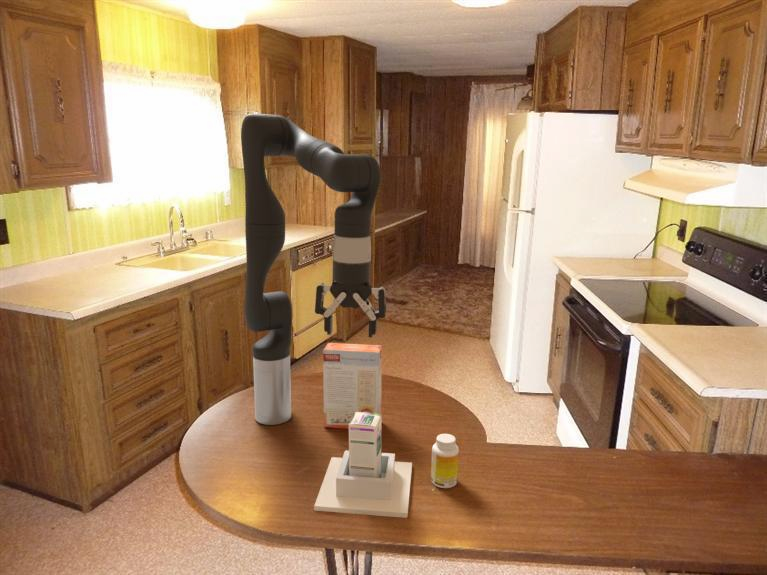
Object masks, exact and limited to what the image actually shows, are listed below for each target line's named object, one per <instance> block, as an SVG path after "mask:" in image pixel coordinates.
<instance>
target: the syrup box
mask: <svg viewBox="0 0 767 575" xmlns="http://www.w3.org/2000/svg"><path fill="white" fill-rule="evenodd" d="M382 419H383V418H382V413H381V414H376V413H368V412H355V415H354V416H353V418H352V419H351V421H350V423H349V429H348V450H349V476H358V477H372V478H381V462H382V453H383V452H382V442H383V441H382V438H383V437H382V427H383V426H382V424H383V423H382Z"/></svg>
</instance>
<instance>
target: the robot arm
mask: <svg viewBox="0 0 767 575" xmlns="http://www.w3.org/2000/svg"><path fill="white" fill-rule="evenodd" d="M241 123H242V124H241V128H240V141H241V154H242V155H241V156H242V162H243V163H242V166H243V173H244V175H243V176H244V187H245V188H244V190H245V191H244V192H245V193H244V194H245V197H244V198H245V214H244V215H245V218H244V220H245V222H244V225H245V226H244V227H245V229H244V230H245V231H244V233H245V251H246V252H245V255H246V259H245V260H246V271H245V272H246V275H245V287H244V288H245V291H244V305H243V306H244V320H245V324H246V326H247V328H248V330H249V331H251V332H252V333H258V332H261V333H262V332H266V331H269V332H268V333H267V334H266V335H265V336H263V337H262V338H261V339H258V340H257V341H255V343H254V344H253V345H252V367H253V369H252V370H253V371H252V372H253V390H254V391H253V392H254V393H253V395H254V418H255V421H256V422H257V423H259V424H262V425H267V426H274V425H280V424H283V423H287V422H288V421H289V420H290V419H291V418H292V395H291V394H292V393H291V389H292V386H291V382H292V381H291V345H292V326H293V310H292V309H293V308H292V307H293V306H292V302H291V299H290V297H289V295H288V294H287V293H286V292H284V291H281V290H280V291H271V292H264V288H265V284H266V280H267V277H268V274H269V272H270V270H271V268H272V266H273V265H274V263H275V261H276V260H277V258H278V256H280V253H281V252H282V250H283V247H284V245H285V241H286V214H285V211H284V208H283V206H282V204H281V203H280V200H279V199H278V198H277V196H276V194H275V192H274V191H273V189H272V187H271V185H270V183H269V180H268V178H267V174H266V166H265V157H281V156H288V157H292V158H293V157H294V158H295V159H296V162H297V164H298V165H299V166H300V167H301V168H302V169H304V170H305V171H306V172H308V173H310V174H312V175H314V176H316V177H318V178H320V179H321V180H322V182H323V183H324V184H326V186H327V187H328V188H329V189H331V190H333V191H335V192H339V193H352V194H351V197H350V199H349V201H347V202H346V203H343V204H340V205H338V206H337V207H336V209H335V212H334V236H333V245H332V253H331V254H332V255H331V256H332V282H331V285H330V284H325V283H323V282H320V283H319V284H318V285H317V286H316V289H315V292H316V293H315V302H314V304H315V305H314V313H315V314H317V315H321V316H323V318H324V319H323V320H324V324H323V328H324V329H323V330H324V332H325V333H326V335H329V336H331V335H332V334H333V320H334V319H333V312H335V310H336V309H337V308H338V306H341V307H342V308H344V309H345V308H352V309H358V308H361V309H362V311H363V312H364V313H365V314H366V315H367V316H368V318H369V320H368V338H373V337H374V336H375V335H376V333H377V329H378V328H377V324H378V323H377V321H378V319H384V318H385V316H386V314H387V302H386V301H387V300H386V298H387V297H386V295H387V292H386V289H387V288H386V287H385V286H380V287H372V285H371V266H372V264H371V263H372V262H371V261H372V242H371V222H372V221H371V218H372V213H373V210H374V206H375V203H376V199H377V195H378V193H379V188H380V184H381V180H382V172H381V168H380V164H379V162H378V160H377V159H376V158H375V157H374V156H372V155H370V154H362V153H361V154H354V153H353V154H349V153H348V154H347V153H346V154H345V152H344V151H343V149H341V148H340V147H338V146H337V145H335V144H332V143H330V142H327V141H325V140H324V139H320V138H319V137H318V138H317V137H315V136H313V135H311V134H309V133H307V132H306V131H305V130H303V129H302V128H301V127H299V126H298V125H297V124H295V123H294V122H293V121H291V120H290V119H289V118H287V117H285V116H282V115H279V114H269V113H268V114H266V113H248V114H246V115H245V116H244V117H243V120H242V122H241ZM328 292H330V293H331V295H332V296H333V298H334V299H333V301H332V303H331V304H330V305H329V306H328V307H326V306H325V307H324V301H325V300H324V299H325V296H326V295H327V294H328ZM372 294H373V295H374V298H375V299H377V300H378V310H375V308H374V307H373V304H372V303H371V301H370V300H369V297H371V296H372Z"/></svg>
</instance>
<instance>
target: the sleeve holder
mask: <svg viewBox="0 0 767 575" xmlns="http://www.w3.org/2000/svg"><path fill="white" fill-rule="evenodd" d="M412 469H413V462H410V461H409V462H406V461H396V454H395V453H389V452H382V462H381V478H372V477H358V476H349V449H348V450H344V452H343V454H342V457H335V456H331V459H330V461H329V464H328V467H327V469H326V473H325V475H324V478H323V481H322V483H321V486H320V489H319V492H318V494H317V497H316V501H315V503H314V505H313V507H314V508H313V509H314V510H313V511H314V512H315V511H316V512H331V513H341V514H343V513H344V514H353V515H364V516H365V515H367V516H368V515H369V516H379V517H380V516H381V517H392V518H393V517H394V518H403V519H404V518H405V519H408V515H409V503H410V493H411V481H412Z"/></svg>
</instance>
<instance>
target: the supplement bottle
mask: <svg viewBox="0 0 767 575" xmlns="http://www.w3.org/2000/svg"><path fill="white" fill-rule="evenodd" d="M456 442H457V439H456V437H455V436H454V435H453V434H450V433H441V434H438V435H437V436H436V440H435V443H434V444H433V445H432V449H431V466H430V467H431V470H430V471H431V472H430V481H431V483H432V484H433V485H434V486H435V487H438V488H439V489H440V488H441V489H450V488H453V487H455V486H456V485H457V483H458V477H459V476H458V472H459V457H460V456H459V455H460V450H459V446H458V445H457V443H456Z"/></svg>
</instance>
